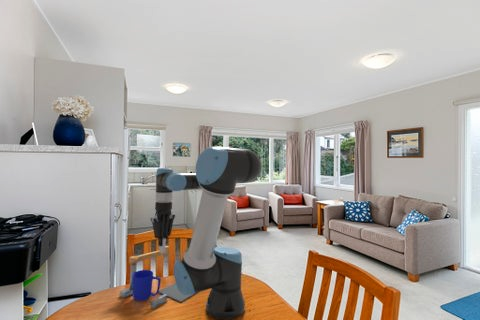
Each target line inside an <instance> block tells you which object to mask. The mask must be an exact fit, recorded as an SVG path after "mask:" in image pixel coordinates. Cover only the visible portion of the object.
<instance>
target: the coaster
mask: <svg viewBox="0 0 480 320" xmlns="http://www.w3.org/2000/svg"><path fill="white" fill-rule="evenodd" d="M158 294H160V295H161V296H162V295H164V294H166V295H167V298H169V299H171V300H173V301H175V302H179V303H181V304H182V303H183V302H185V301H186V300H188V299H190V298H191V297H193V296H195V295H197V294H198V293H195V294H191V295H183V294H181V293H180V291H179V290H178V287H177V285H176V282H174V283H172V284H170V285H168V286H166V287H164V288H161V289H159V292H158Z"/></svg>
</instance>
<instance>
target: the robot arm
mask: <svg viewBox="0 0 480 320" xmlns="http://www.w3.org/2000/svg"><path fill="white" fill-rule="evenodd" d="M195 171H196V172H194V173H191V172H189V173H188V172H187V173H185V172H184V173H183V172H182V173H181V172H180V173H176V172H174V169H173V168H168V167H167V168H166V167H165V168H161V167H159V168H157V169H156V173H155V174H156V175H155V201H156V202H155V204H154V205H155V206H154V209H155V210H154V211H155V215H154V216H153V217H151V218H150V222H151V223H152V224H151V225H152V230H153V235H154V238H155V239H157V240H158V242H157V244H158V250H159V253H166V246H167V244H168V243H167V242H168V239H169V238H170V237H169V236H171V234H172V229H173V225H174V224H173V223H174V220H175V218H176V215H175V214H173V213H172V209H173V202H172V201H173V193H174V192H180V191H190V190H195V191H196V190H202V192H201V196H200V197H201V198H200V201H199V205H198V209H197V213H196V219H195V222H194V226H193V231H192V235H191V240H190V245H189V247H188V248H187V249H186V250H185V251H184V253H183V255H182V259H181V260H178V261H175V262H174V265H173V277H174V281H175V282H174V283H176V285H177V287H178V290H179V291H180V293H181V294H183V295H191V294H195V293H197V294H199V293H201V292H204V291H207V290H210V292H209V293H208V297H207V300H206V305H205V309H206V312H207V314H208V315H209V316H210V317H213V318H214V319H218V320H232V319H236V318H239V317H240V316H242V315H243V314H244V312H245V310H246V307H245V305H246V302H245V299H244V295H243V292H242V267H243V259H242V258H243V256H242V253H241V251H240V250H238V249H236V248H233V247H230V246H229V247H227V246H217V241H218V237H219V233H220V229H221V224H222V223H223V222H222V221H223V219H224V213H225V210H226V205H227V203H228V198H229V196H230V195H233V194H234V193H235V189H236V186H237V184H247V183H252V182H254V181H256V179H257V178H258V177H259V176H260V175H261V172H262V162H261V159H260V157H259V155H257V153H256V152H254V151H253V150H251V149H247V148H236V147H235V148H234V147H226V146H209V147H206V148H204V149H203V150H202V151H201V152H200V154H199V155H198V158H197V159H196V163H195ZM195 295H196V294H195Z"/></svg>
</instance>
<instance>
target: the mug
mask: <svg viewBox="0 0 480 320" xmlns="http://www.w3.org/2000/svg"><path fill="white" fill-rule="evenodd" d="M153 280H156V281H157V289H156V292H155V293H153V292H152V289H153ZM161 281H162V279H161V277H160V276H159V277H158V276H154V271H152V270H149V269H141V270H140V269H139V270H138V271H137V270H136V272H135V273H133V275H132V283H133V294H132V298H133V300H134V301H136V302H143V301H147V300H149V298H150V297H157V295H158V294H159V293H158V292H159V291H160V290H161V289H160V288H161Z"/></svg>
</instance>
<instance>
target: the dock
mask: <svg viewBox="0 0 480 320" xmlns="http://www.w3.org/2000/svg"><path fill="white" fill-rule="evenodd" d="M135 272H137V263H134V264H131V263H130V272H129V287H126V288H124V289H122V290H120V291H119V297H121V298H123V299H125V298H128V297H130V296H133V283H132V275H133V273H135ZM167 302H168V297H167V295H166V294H164V295H162V294H161V295H160V296H158V297H156V298H154V299H152V300H151V301H150V309H152V310H154V309H156V308H157V307H159V306H162V304H163V305H164V303H167Z"/></svg>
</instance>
